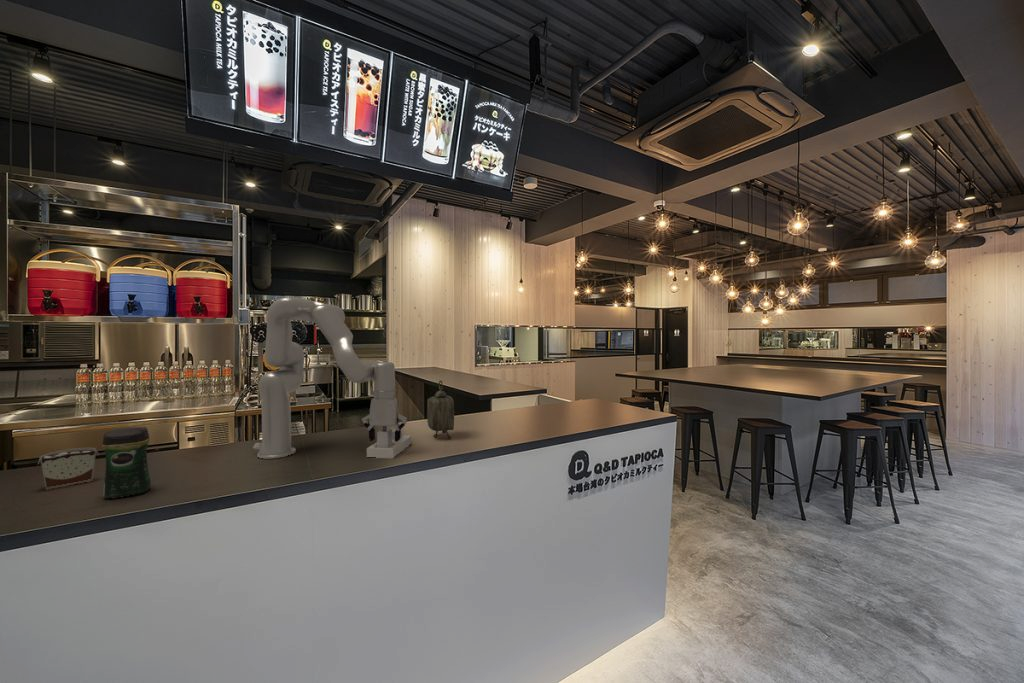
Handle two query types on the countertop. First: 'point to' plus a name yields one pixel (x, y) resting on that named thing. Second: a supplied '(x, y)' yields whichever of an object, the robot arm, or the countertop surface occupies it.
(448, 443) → the countertop surface
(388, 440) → the plug
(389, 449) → the power strip
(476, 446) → the countertop surface
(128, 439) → the coffee jar
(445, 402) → the dark lantern
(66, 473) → the food container
